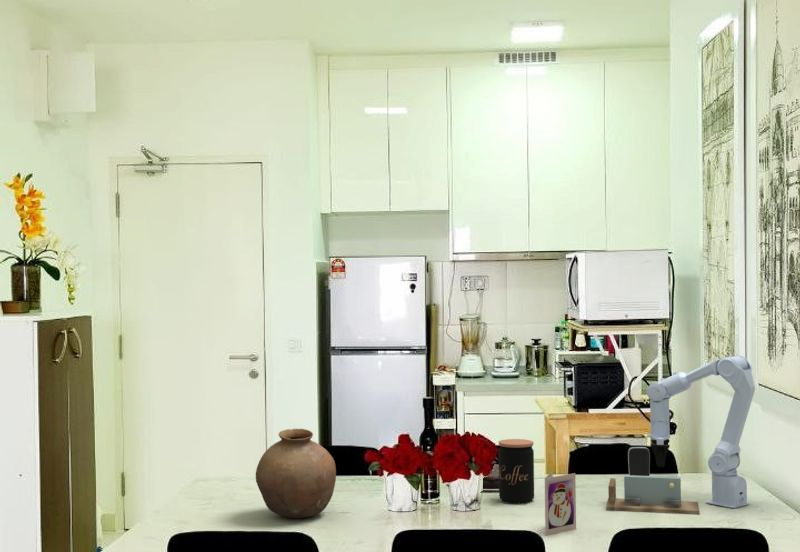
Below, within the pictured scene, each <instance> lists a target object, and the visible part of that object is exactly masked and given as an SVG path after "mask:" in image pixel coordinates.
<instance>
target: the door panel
mask: <svg viewBox="0 0 800 552" xmlns="http://www.w3.org/2000/svg"><path fill="white" fill-rule="evenodd" d="M623 477H624V478H623V479H624V481H623V482H624V483H623V487H624V489H623V490H624V491H623V492H624V493H623V494H624V495H623V496H624V498H623V499H625V504H626V498H640V505H660V506H665V499H670V500H679V506H681V501H682V485H681V482H682V479H681V476H656V475H650V476H634V475H629V474H624V476H623Z"/></svg>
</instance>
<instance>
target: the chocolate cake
mask: <svg viewBox="0 0 800 552" xmlns="http://www.w3.org/2000/svg"><path fill="white" fill-rule="evenodd" d="M493 464H494V466H493V469H492V473H491V476H490V477H484V478H483V492H482V493H499V463H498V464H496V463H493Z"/></svg>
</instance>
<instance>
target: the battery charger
mask: <svg viewBox="0 0 800 552" xmlns="http://www.w3.org/2000/svg"><path fill="white" fill-rule="evenodd" d="M650 454H651V453H650V450H649V448H647V447H645V446H631V447H629V448H628V450H627V462H628V475H634V476H651V475H650V469H651V455H650Z"/></svg>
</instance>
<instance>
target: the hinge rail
mask: <svg viewBox="0 0 800 552" xmlns="http://www.w3.org/2000/svg"><path fill="white" fill-rule="evenodd" d="M616 480H617V479H616V478H614V477H611V478H609V482H608V483H609V484H608V489H607V492H608V498H607V501H606V506H605V510H606V511H614V512H615V511H616V512H636V513H661V514H683V515H700V507H699V501H692V500H691V501H688V500H686V501H685V500H681V506H679V500H670V499H665V506H660V505H640V498H626V504H625V498H619V497H617V496H616V495H617V490H616V489H617V487H616V486H617V485H616V483H617V482H616Z"/></svg>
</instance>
